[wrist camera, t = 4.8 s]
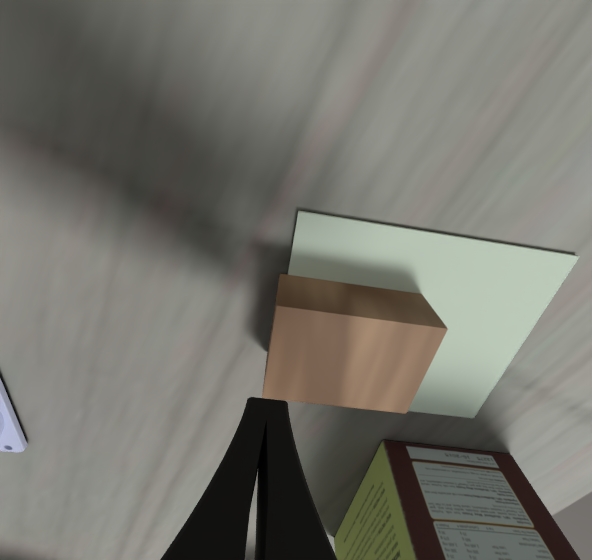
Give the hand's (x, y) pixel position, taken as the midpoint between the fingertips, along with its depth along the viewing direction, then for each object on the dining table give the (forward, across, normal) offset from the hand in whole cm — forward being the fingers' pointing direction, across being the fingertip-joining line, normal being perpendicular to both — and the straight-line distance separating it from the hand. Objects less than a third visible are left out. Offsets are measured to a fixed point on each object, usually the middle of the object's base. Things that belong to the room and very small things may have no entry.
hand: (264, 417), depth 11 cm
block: (+5, 0, 0) cm, 5 cm away
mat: (+6, -7, 0) cm, 10 cm away
